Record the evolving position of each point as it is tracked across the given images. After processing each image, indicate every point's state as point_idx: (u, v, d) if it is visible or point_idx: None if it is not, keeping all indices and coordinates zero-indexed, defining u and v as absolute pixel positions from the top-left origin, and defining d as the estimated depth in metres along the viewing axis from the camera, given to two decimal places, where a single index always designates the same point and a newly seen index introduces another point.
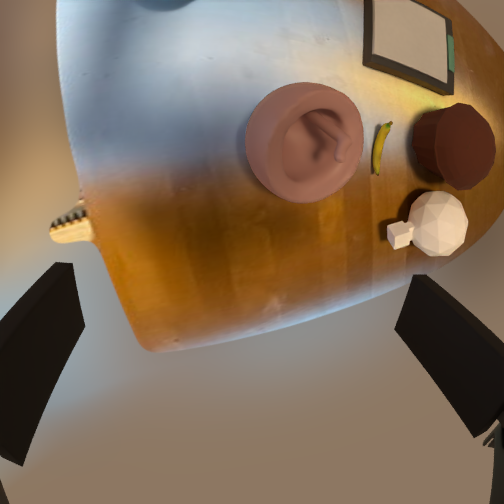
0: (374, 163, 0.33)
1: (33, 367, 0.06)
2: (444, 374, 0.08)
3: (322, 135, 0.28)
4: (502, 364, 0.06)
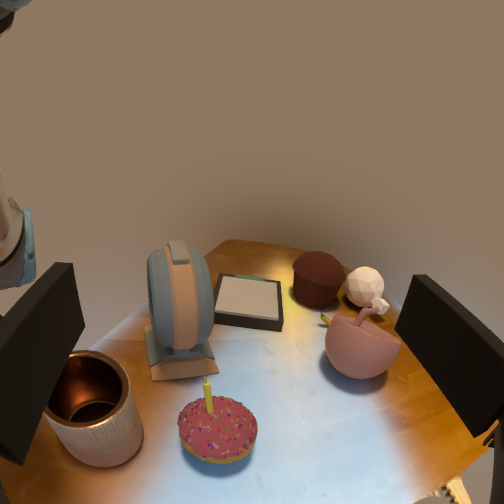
0: None
1: (33, 367, 0.06)
2: (443, 374, 0.08)
3: None
4: (502, 364, 0.06)
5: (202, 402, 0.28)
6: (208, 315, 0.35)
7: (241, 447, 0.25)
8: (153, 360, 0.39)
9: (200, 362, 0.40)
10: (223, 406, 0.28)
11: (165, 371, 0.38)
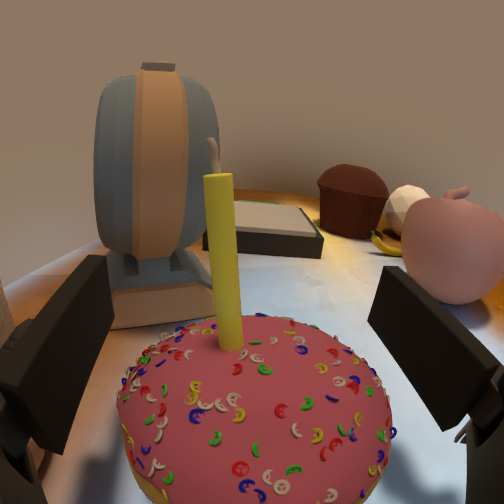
0: None
1: (74, 355, 0.07)
2: (412, 366, 0.09)
3: None
4: (468, 355, 0.06)
5: (200, 325, 0.09)
6: (208, 150, 0.16)
7: (369, 463, 0.05)
8: None
9: (191, 291, 0.21)
10: (274, 328, 0.09)
11: (120, 309, 0.18)
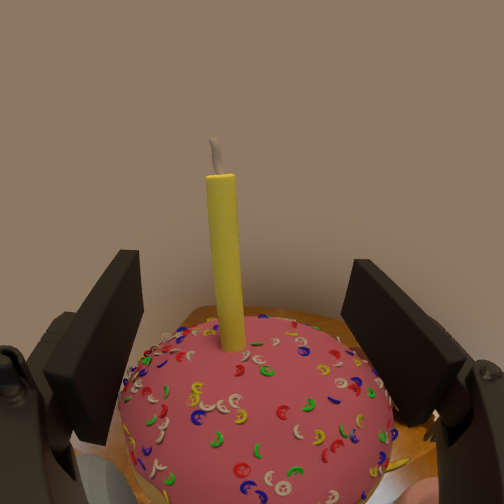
0: (400, 465, 0.24)
1: (114, 346, 0.07)
2: (380, 358, 0.09)
3: None
4: (431, 348, 0.07)
5: (202, 326, 0.09)
6: None
7: (370, 465, 0.05)
8: None
9: None
10: (276, 329, 0.09)
11: None
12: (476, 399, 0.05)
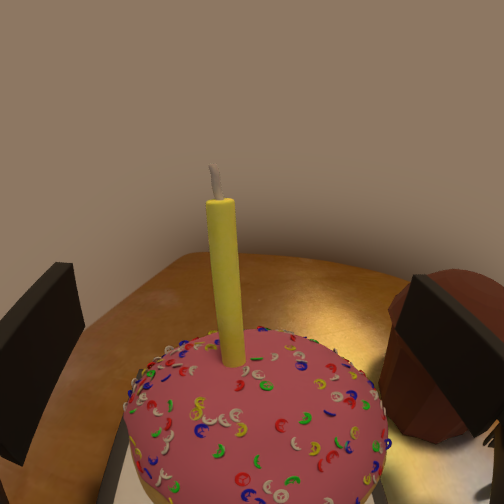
0: None
1: (33, 367, 0.06)
2: (444, 374, 0.08)
3: None
4: (502, 364, 0.06)
5: (203, 340, 0.09)
6: None
7: (364, 473, 0.06)
8: None
9: None
10: (275, 343, 0.09)
11: None
12: None
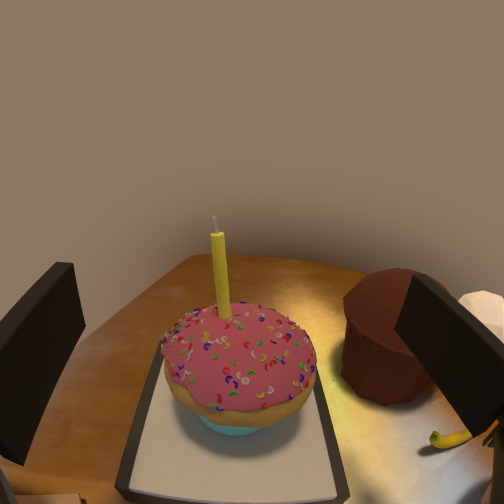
0: None
1: (34, 367, 0.06)
2: (443, 374, 0.08)
3: None
4: (501, 364, 0.06)
5: (208, 307, 0.17)
6: None
7: (295, 381, 0.13)
8: None
9: None
10: (248, 308, 0.16)
11: None
12: None
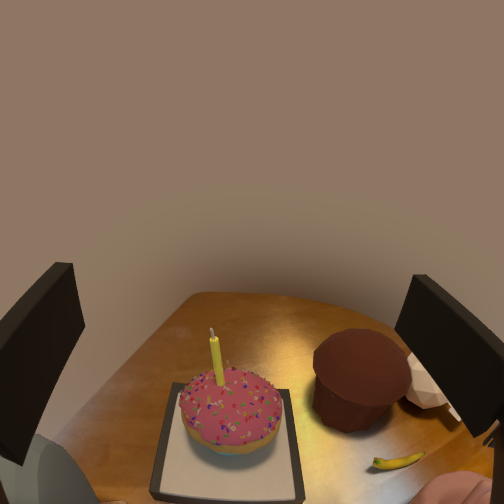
0: (413, 461, 0.21)
1: (33, 367, 0.06)
2: (443, 374, 0.08)
3: None
4: (502, 364, 0.06)
5: (209, 374, 0.23)
6: None
7: (265, 427, 0.19)
8: None
9: None
10: (237, 376, 0.22)
11: None
12: None
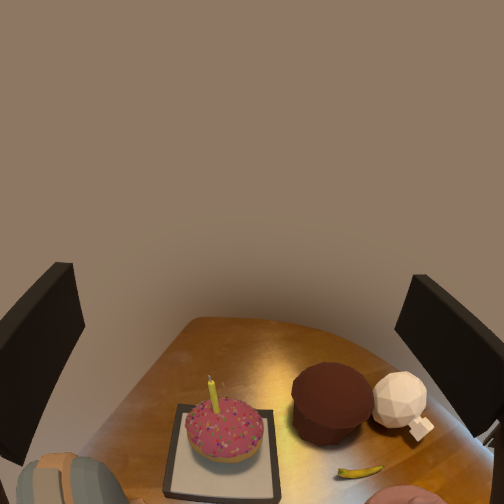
0: (373, 472, 0.27)
1: (33, 367, 0.06)
2: (443, 374, 0.08)
3: None
4: (502, 364, 0.06)
5: (208, 403, 0.29)
6: None
7: (249, 444, 0.25)
8: None
9: None
10: (229, 406, 0.28)
11: None
12: None
